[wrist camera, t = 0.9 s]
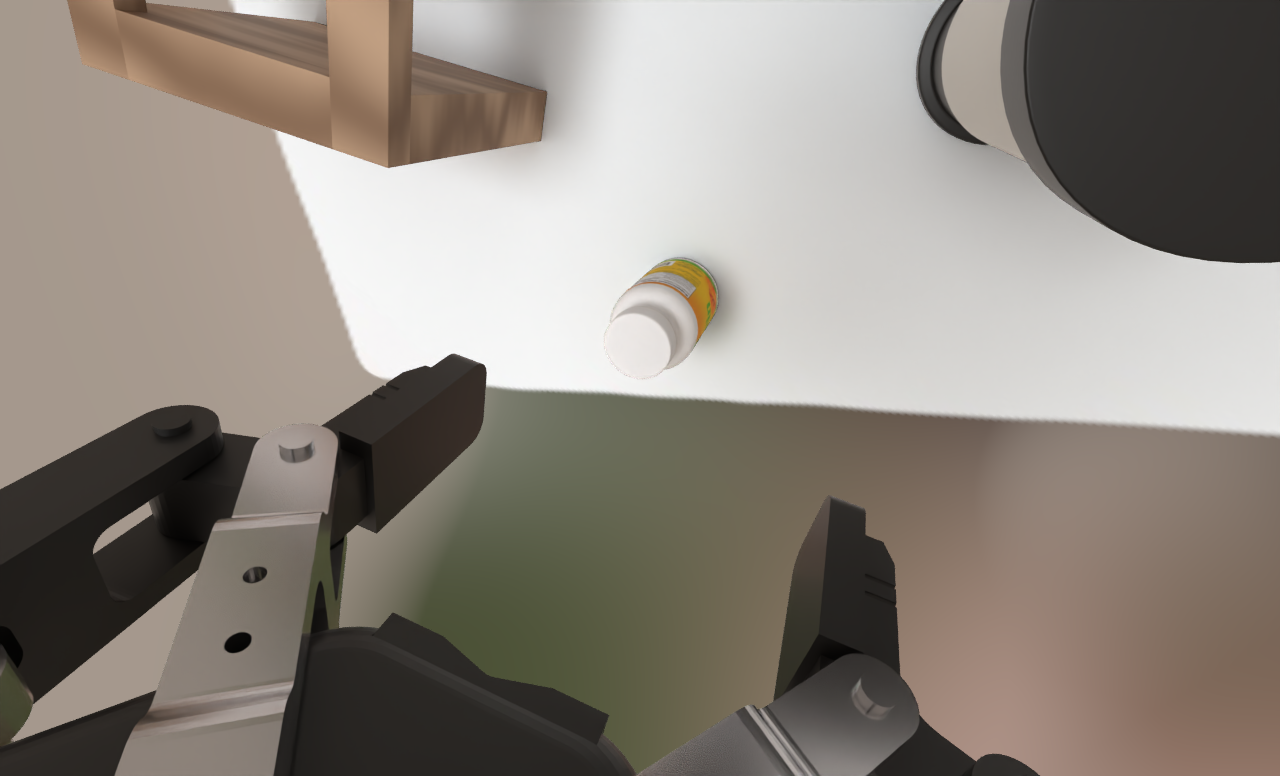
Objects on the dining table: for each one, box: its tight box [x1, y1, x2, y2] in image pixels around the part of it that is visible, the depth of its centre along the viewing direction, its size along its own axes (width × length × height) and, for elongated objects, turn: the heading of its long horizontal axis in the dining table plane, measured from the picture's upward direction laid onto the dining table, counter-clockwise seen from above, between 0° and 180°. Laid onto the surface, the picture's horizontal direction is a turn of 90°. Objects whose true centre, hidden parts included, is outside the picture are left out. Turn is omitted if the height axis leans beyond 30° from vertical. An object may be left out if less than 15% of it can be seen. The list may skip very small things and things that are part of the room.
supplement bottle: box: [604, 258, 718, 379], centre depth 37 cm, size 5×5×10 cm
